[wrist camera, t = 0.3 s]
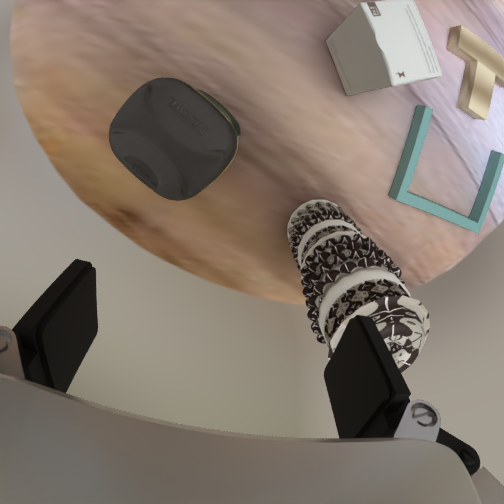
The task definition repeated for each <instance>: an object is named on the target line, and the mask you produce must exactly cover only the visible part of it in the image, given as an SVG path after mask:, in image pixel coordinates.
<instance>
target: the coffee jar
mask: <svg viewBox="0 0 504 504" xmlns="http://www.w3.org/2000/svg"><path fill="white" fill-rule="evenodd" d="M239 137H240V128H239V125H238V123H237V121H236V120H235V118H234V117H233V116H232V115H231V114H230V113H229V111H228V110H227V109H226V108H224V107H223V106H222V105H221V104H220V103H219V102H218V101H217V100H215V99H214V98H213V97H211V96H210V95H208V94H207V93H205V92H203V91H201V90H198V89H195V88H193V87H191V86H190V85H188V84H186V83H185V82H183V81H181V80H178V79H174V78H157V79H154V80H151V81H149V82H147V83H145V84H144V85H142V86H141V87H140V88H139V89H137V90H136V91H135V92H134V93H133V94H132V95H131V96H130V98H129V99H128V100H127V101H126V102H125V103H124V105H123V106H122V107H121V109H120V110H119V111H118V113H117V114H116V116H115V117H114V119H113V121H112V123H111V125H110V129H109V142H110V146H111V149H112V151H113V153H114V154H115V156H116V157H117V158H118V160H119V161H120V162H121V163H122V164H123V165H124V166H125V167H126V168H127V169H128V170H129V171H130V172H131V173H132V174H133V175H135V176H136V177H137V178H138V179H139V180H140V181H142V182H143V183H144V184H145V185H147V186H148V187H149V188H151V189H152V190H153V191H154V192H156V193H157V194H159V195H160V196H162V197H164V198H166V199H170V200H176V201H179V200H185V199H188V198H191V197H193V196H195V195H197V194H198V193H199V192H201V191H202V190H204V189H205V188H207V187H208V186H210V185H211V184H212V183H213V182H214V181H216V180H217V179H218V178H219V177H220V176H221V175H222V174H223V172H224V171H225V170H226V169H227V168H228V166H229V165H230V164H231V162H232V161H233V159H234V157H235V155H236V152H237V148H238V140H239Z"/></svg>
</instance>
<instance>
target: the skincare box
mask: <svg viewBox="0 0 504 504" xmlns="http://www.w3.org/2000/svg"><path fill="white" fill-rule="evenodd" d="M326 43H327V46H328V48H329V51H330V53H331V56H332V58H333V61H334V64H335V66H336V69H337V71H338V74H339V77H340V79H341V82H342V84H343V87H344V90H345V93H346V95H347V96H350V95H354V94H359V93H363V92H367V91H372V90H377V89H382V88H387V87H394V86H399V85H404V84H409V83H414V82H419V81H423V80H428V79H432V78H437V77H441V76H443V74H442V71H441V68H440V65H439V62H438V59H437V56H436V54H435V51H434V48H433V45H432V43H431V40H430V37H429V35H428V32H427V30H426V27H425V25H424V23H423V20H422V18H421V16H420V13H419V11H418V9H417V7H416V4H415V2H414V0H385V1H373V2H363V3H360V4H359V5H358V6H357V7H356V8H355V9H354V10H353V11H352V12H351V13H350V14H349V16H348V17H347V18H346V19H345V20H344V21H343V22H342V23H341V24H340V25H339V26H338V27H337V29H336V30H335V31H334V32H333V33H332V34H331V35H330V36H329V37H328V39H327V40H326Z"/></svg>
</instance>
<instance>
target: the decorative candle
mask: <svg viewBox="0 0 504 504" xmlns="http://www.w3.org/2000/svg"><path fill="white" fill-rule="evenodd" d="M287 236H288V242H289V243H290V248H292V253H293V254H294V259H295V260H296V262H297V264H298V269H299V270H301V274H302V276H301V279H302V281H301V283H302V286H303V287H305V288H304V289H303V295H304V296H305V297H307V298H308V299H307V300H306V305H307V307H308V308H310V310H309V312H308V314H307V316H308V318H309V319H310V320H312V321H314V322H313V323H312V325H311V329H312V330H313V332H314V333H318V335H317V340H318V341H319V342H320V343H327V346H328V347H329V354H328V359H329V360H330V358H331V356H332V354H333V352H334V350H335V348H336V346H337V344H338V342H339V340H340V338H341V336H342V334H343V332H344V330H345V328H346V326H347V324H348V322H349V320H350V319H351V318H354V317H355V316H356V315H362V316H369V317H371V318H372V319H373V321H374V322H375V324H376V326H377V328H378V330H379V332H380V334H381V335H382V337H383V339H384V341H385V343H386V345H387V347H388V349H389V351H390V353H391V355H392V357H393V358H394V360H395V362H396V364H397V366H398V368H399V370H400V372H401V373H402V372H403V371H404V370H405V369H407V368H408V367H409V366H410V365H411V364H412V363H413V362H414V360H415V359H416V358H417V357H418V355H419V353H420V351H421V348H422V346H423V345H424V344H425V341H426V338H427V335H428V332H429V329H430V323H429V313H428V311H427V310H426V309H425V308H424V306H423V305H422V304H421V302H420V301H418V300H415V299H412V298H411V296H410V293H409V291H408V290H407V289H406V287H405V282H404V281H403V280H402V279H400V276H401V270H400V268H399V267H397V266H395V264H394V262H393V261H392V260H391V258H390V257H389V256H387V255H386V253H385V252H384V251H383V250H379V248H378V247H377V246H376V244H375V243H374V242H372V240H371V239H370V238H369V237H366V236H364V235H361V230H360V228H357V226H356V224H355V223H354V221H353V220H352V219H351V218H350V217H349V216H348V215H347V214H346V212H345V211H343V210H342V208H340V207H338V206H337V205H336V204H335V203H332V202H330V201H328V200H325V199H318V200H310V201H308V202H306V203H303V204H301V205H300V206H299V207H298V208H297V209H296V210H295V211H294V212H293V213H292V215H291V217H290V220H289V222H288V224H287ZM389 271H390V272H389ZM318 318H319V321H318Z"/></svg>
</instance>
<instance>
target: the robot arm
mask: <svg viewBox="0 0 504 504" xmlns="http://www.w3.org/2000/svg"><path fill="white" fill-rule="evenodd" d="M96 300H97V299H96V270H95V268H94V267H92V264H91V263H90V262H87V261H83V260H79V259H76V260H74V261H73V262H72V263H71V264H70V266H69V267H67V269H65V271H64V272H63V273H62V274H61V275H60V276H59V277H58V278H57V279H56V280H55V281H54V282H53V283H52V284H51V286H49V288H48V289H47V290H46V291H45V292H44V293H43V294H42V295H41V296H40V297H39V299H38V300H37V301H36V302H35V303H34V304H33V305H32V306H31V308H30V309H29V310H28V311H27V312H26V313H25V315H24V316H23V317H22V318H21V320H19V322H18V323H17V324H16V325H15V327H14V328H13V329H12V330H11V329H9V328H8V327H5V326H0V504H504V486H503V485H502V484H501V483H500V482H499V481H498V480H497V479H496V478H495V477H494V476H493V475H492V474H491V473H490V472H489V471H488V470H487V469H486V468H484V467H482V468H481V469H480V468H479V467H480V459H479V456H478V454H477V452H476V451H475V450H474V449H473V448H472V447H471V446H469V445H468V444H466V443H464V442H463V441H461V440H459V439H457V438H456V437H454V436H453V435H451V434H449V433H448V432H446V431H445V430H443V429H441V428H440V424H441V417H440V414H439V412H438V411H437V409H436V408H435V407H434V406H432V405H431V404H430V403H428V402H426V401H424V400H419V399H417V400H413V401H411V402H410V400H409V396H410V395H411V393H410V391H409V389H408V387H407V384H406V383H405V380H404V378H403V376H402V374H401V372H400V370H399V368H398V366H397V364H396V362H395V360H394V358H393V357H392V355H391V353H390V351H389V349H388V347H387V345H386V343H385V341H384V339H383V337H382V335H381V334H380V332H379V330H378V328H377V326H376V324H375V322H374V321H373V319H372V318H371V317H369V316H362V315H356V316H355V317H354V318H351V319H350V320H349V322H348V324H347V326H346V328H345V330H344V332H343V334H342V336H341V338H340V340H339V342H338V344H337V346H336V348H335V350H334V352H333V354H332V356H331V358H330V360H329V362H328V364H327V366H326V368H325V371H324V379H325V383H326V386H327V391H328V394H329V398H330V402H331V406H332V410H333V414H334V418H335V422H336V426H337V430H338V435H339V439H324V438H322V439H321V438H293V437H277V436H264V435H253V434H244V433H235V432H228V431H220V430H213V429H206V428H201V427H195V426H189V425H183V424H178V423H173V422H168V421H164V420H159V419H154V418H150V417H146V416H142V415H137V414H134V413H130V412H126V411H122V410H118V409H115V408H111V407H108V406H104V405H101V404H98V403H95V402H91V401H88V400H84V399H81V398H78V397H75V396H72V395H69V394H66V392H67V390H68V388H69V386H70V384H71V382H72V380H73V378H74V376H75V374H76V372H77V370H78V368H79V366H80V364H81V362H82V361H83V359H84V357H85V355H86V353H87V351H88V349H89V348H90V345H91V344H92V342H93V340H94V338H95V337H96V335H97V331H98V319H97V301H96Z"/></svg>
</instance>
